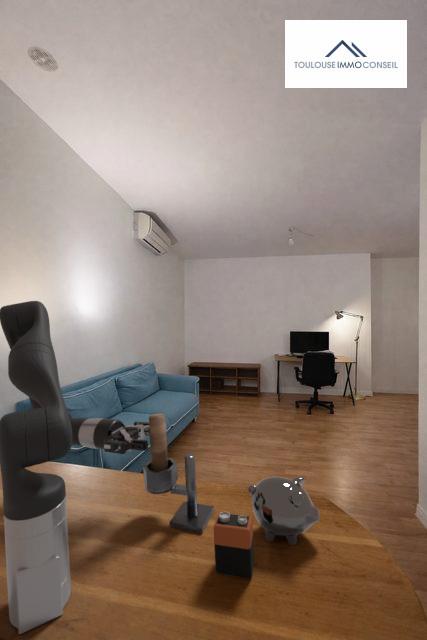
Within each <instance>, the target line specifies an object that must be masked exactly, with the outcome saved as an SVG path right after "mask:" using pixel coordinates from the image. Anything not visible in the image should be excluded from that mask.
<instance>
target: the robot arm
mask: <svg viewBox="0 0 427 640" xmlns="http://www.w3.org/2000/svg"><path fill="white" fill-rule="evenodd" d="M50 324H51V323H50V317H49V313H48V309H47V308H46V306H45V304H44V303H43V302H41V301H39V300H31V301H24V302H18V303H12V304H7V305H3V306H2V307H0V326H1V328H2V332H3V335H4V336H5V337H4V338H5V339H6V342H7V344H8V347H9V349H10V351H9V354H8V356H7V357H8V359H7V361H8V362H7V365H8V367H7V369H8V370H7V373H8V374H7V375H8V378H9V381H10V382H11V384H12V385H13V386H14V387H15V388H16V389H17V390H18V391H20V392H21V393H23V394H24V395H25V396H27V397H28V398H29V402H30V406H31V409H26V410H25V409H24V410H20V411H13V412H8V413H6V414H4V415H3V416H2V417H1V419H0V475H1V485H2V503H3V505H2V508H3V523H4V524H3V525H4V526H3V527H4V543H5V544H4V546H5V562H6V563H5V565H6V584H7V585H6V586H7V599H8V600H7V601H8V617H9V622H10V625H12V627H15V628H16V629H17V630H18V631H17V632H18V635H22V634H24V633H27V632H29V631H30V630H32V629H35V628H37V627H39V626H41V625H43V624H45V623H47V622H49V621H52V620H54V619H56V618H58V617H60V616H62V615H63V614H64V607H65V606H66V604H67V603H68V601H69V599H70V598H71V597H70V596H71V594H72V593H71V592H72V586H71V585H72V584H71V570H70V569H71V568H70V552H69V551H70V550H69V534H68V533H69V532H68V514H67V513H68V512H67V511H68V510H67V491H66V482H65V480H64V478H63V477H61V475H58V474H55V473H46V472H45V473H43V472H35V471H32V470H29V469H26V468H30V467H34V466H37V465H41V464H45V463H47V462H49V463H50V462H52V461H56V460H59V459H61V458H64V457H66V456H67V455H68V454H69V452H70V451H71V449H72V446H78V447H79V446H80V447H86V448H90V449H96V450H103V451H104V452H105V453H113V454H118V455H119V454H120V455H124V454H127V452H131V451H133V450H134V451H142V452H146V451H148V450H149V442H148V440H147V439H146V440H145V437H150V431H149V421H134V422H133V425H132V424H129V425H125V424H124V423H123V421H122V420H120V419H117V418H116V419H114V418H102V417H94V418H91V417H90V418H88V417H87V418H86V417H75V418H72V415H71V413H70V411H69V410H68V408H67V404H66V402H65V398H64V396H63V391H62V388H61V384H60V379H59V369H58V364H57V358H56V354H55V349H54V346H53V343H52V338H51V328H50Z"/></svg>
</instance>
